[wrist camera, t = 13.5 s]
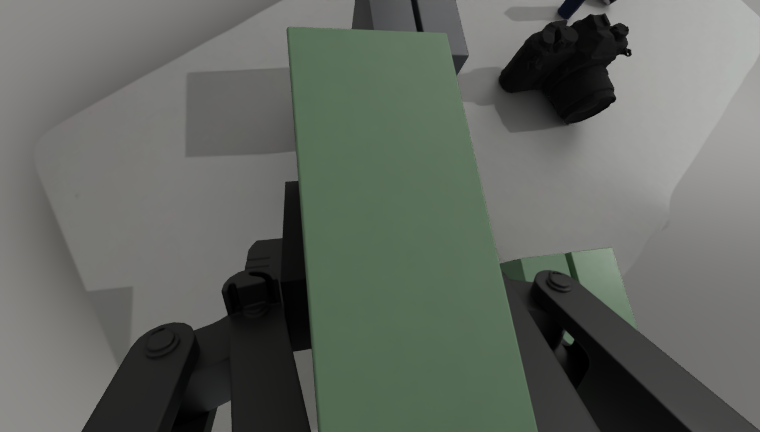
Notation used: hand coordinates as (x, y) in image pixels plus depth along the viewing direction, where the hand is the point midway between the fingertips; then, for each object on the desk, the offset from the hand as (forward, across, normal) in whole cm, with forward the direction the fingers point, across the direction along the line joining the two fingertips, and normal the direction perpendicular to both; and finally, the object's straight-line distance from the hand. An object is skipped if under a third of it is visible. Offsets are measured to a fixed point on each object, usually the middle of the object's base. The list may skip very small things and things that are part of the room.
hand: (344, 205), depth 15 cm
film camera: (+26, +32, 0) cm, 41 cm away
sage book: (0, 0, -6) cm, 6 cm away
